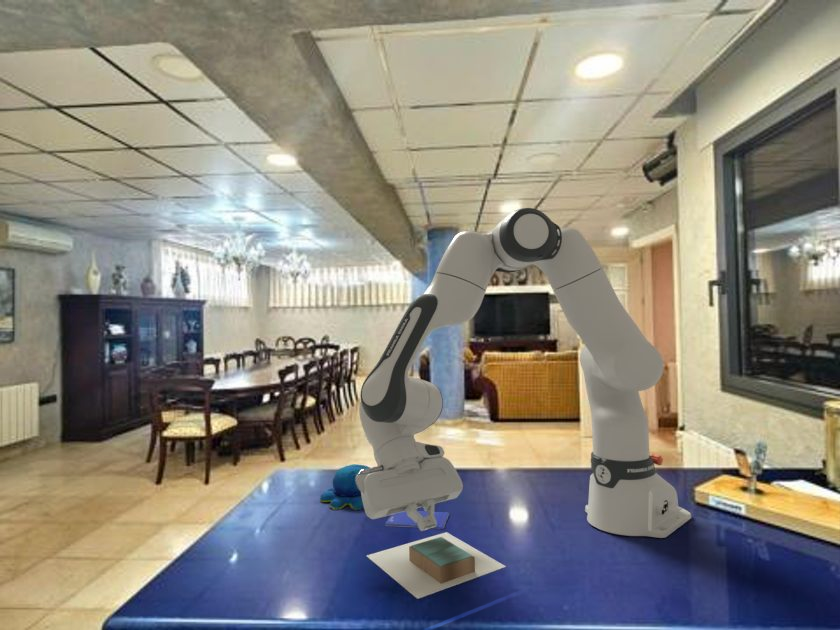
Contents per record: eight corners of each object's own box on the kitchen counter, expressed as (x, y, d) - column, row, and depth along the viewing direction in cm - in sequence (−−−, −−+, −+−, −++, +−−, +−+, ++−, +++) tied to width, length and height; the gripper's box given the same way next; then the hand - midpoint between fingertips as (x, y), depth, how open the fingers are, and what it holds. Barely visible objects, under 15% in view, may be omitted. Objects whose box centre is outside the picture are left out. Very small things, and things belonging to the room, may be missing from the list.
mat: (446, 534, 104) (446, 532, 104) (506, 568, 89) (506, 566, 89) (366, 557, 95) (366, 555, 95) (417, 601, 79) (417, 598, 79)
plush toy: (311, 510, 120) (310, 475, 120) (332, 487, 137) (331, 456, 137) (381, 511, 118) (380, 475, 119) (394, 488, 135) (393, 456, 135)
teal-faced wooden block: (441, 535, 96) (474, 555, 87) (441, 550, 96) (475, 571, 87) (409, 545, 92) (440, 567, 84) (409, 560, 92) (440, 583, 84)
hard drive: (385, 522, 108) (443, 526, 106) (395, 508, 116) (449, 511, 114) (385, 530, 108) (443, 533, 106) (395, 515, 116) (449, 518, 114)
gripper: (357, 462, 94) (383, 533, 86) (448, 445, 105) (480, 507, 97) (347, 480, 98) (372, 550, 89) (437, 462, 109) (466, 523, 100)
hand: (429, 527), depth 93 cm, fingers closed
